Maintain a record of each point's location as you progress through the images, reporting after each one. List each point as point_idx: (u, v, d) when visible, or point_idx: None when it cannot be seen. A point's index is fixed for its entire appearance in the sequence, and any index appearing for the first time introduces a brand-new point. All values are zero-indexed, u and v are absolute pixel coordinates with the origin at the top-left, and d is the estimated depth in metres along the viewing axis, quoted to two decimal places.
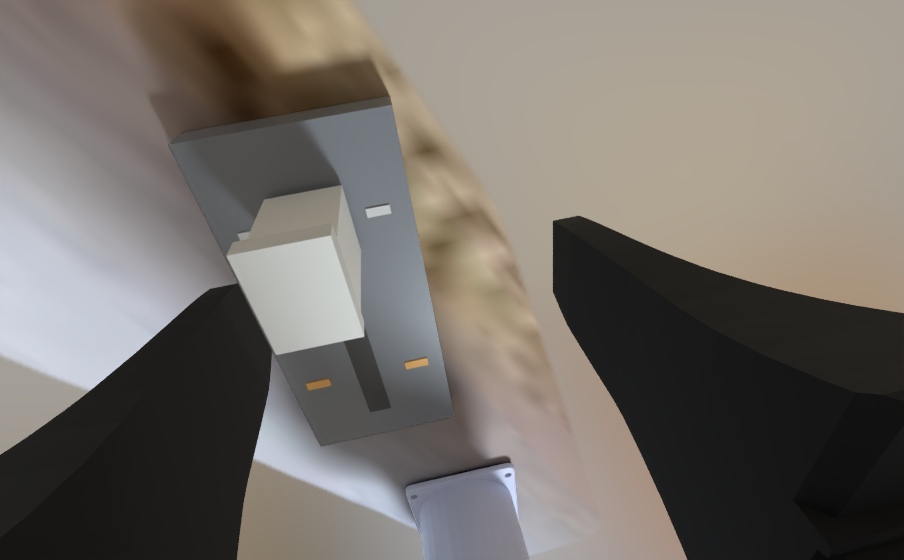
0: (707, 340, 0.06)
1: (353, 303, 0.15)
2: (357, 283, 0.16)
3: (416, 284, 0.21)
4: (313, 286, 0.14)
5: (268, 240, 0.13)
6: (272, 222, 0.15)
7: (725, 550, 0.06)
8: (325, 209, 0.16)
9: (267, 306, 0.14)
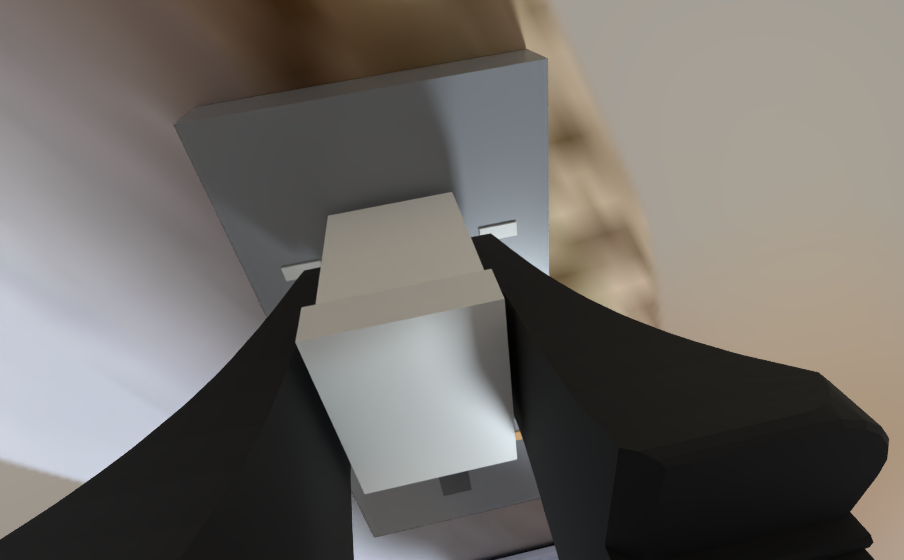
0: (549, 373, 0.05)
1: (512, 410, 0.08)
2: None
3: None
4: (451, 388, 0.07)
5: (374, 306, 0.07)
6: (356, 259, 0.09)
7: None
8: (443, 235, 0.09)
9: (362, 424, 0.07)
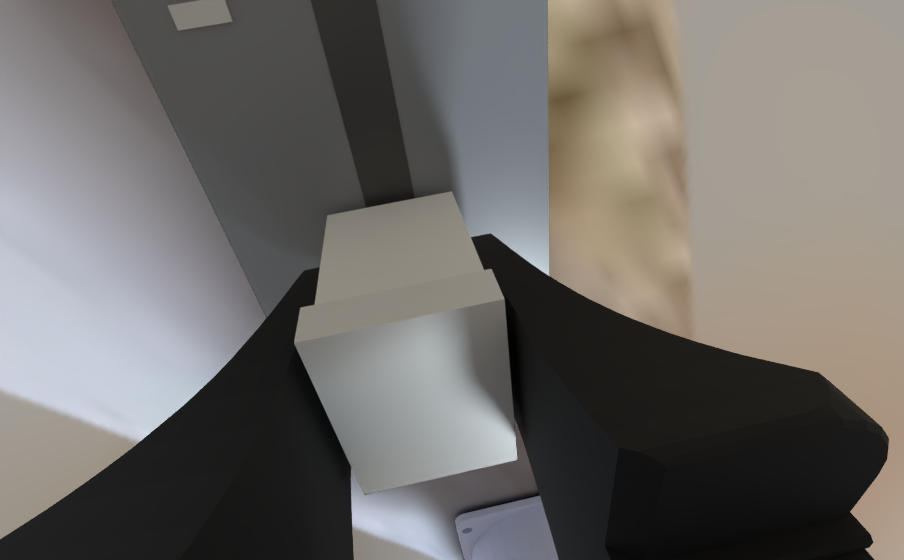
0: (549, 374, 0.05)
1: (512, 410, 0.08)
2: None
3: (527, 161, 0.11)
4: (450, 388, 0.07)
5: (373, 306, 0.07)
6: (355, 259, 0.09)
7: None
8: (443, 235, 0.09)
9: (361, 424, 0.07)
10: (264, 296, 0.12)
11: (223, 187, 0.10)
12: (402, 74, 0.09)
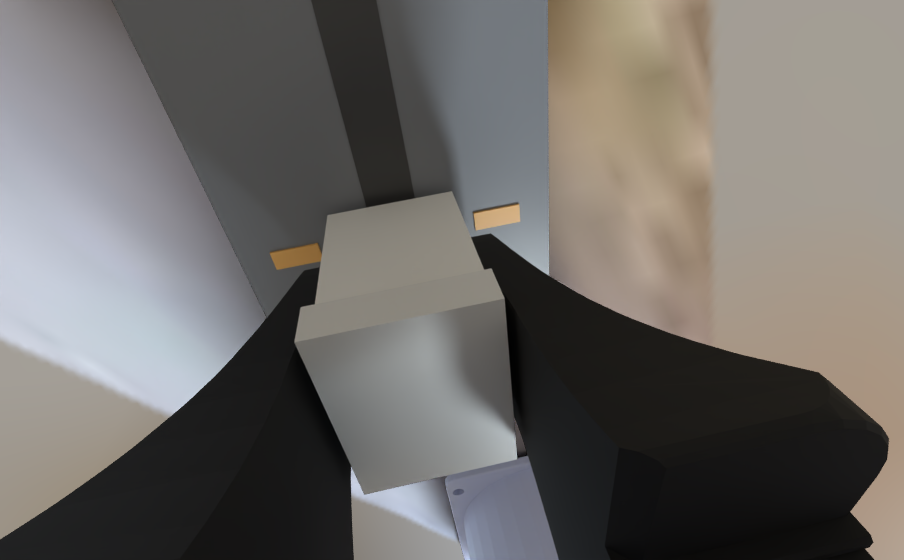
0: (549, 373, 0.05)
1: (512, 410, 0.08)
2: None
3: None
4: (450, 388, 0.07)
5: (373, 305, 0.07)
6: (355, 259, 0.09)
7: None
8: (443, 234, 0.09)
9: (361, 424, 0.07)
10: (202, 165, 0.10)
11: None
12: None
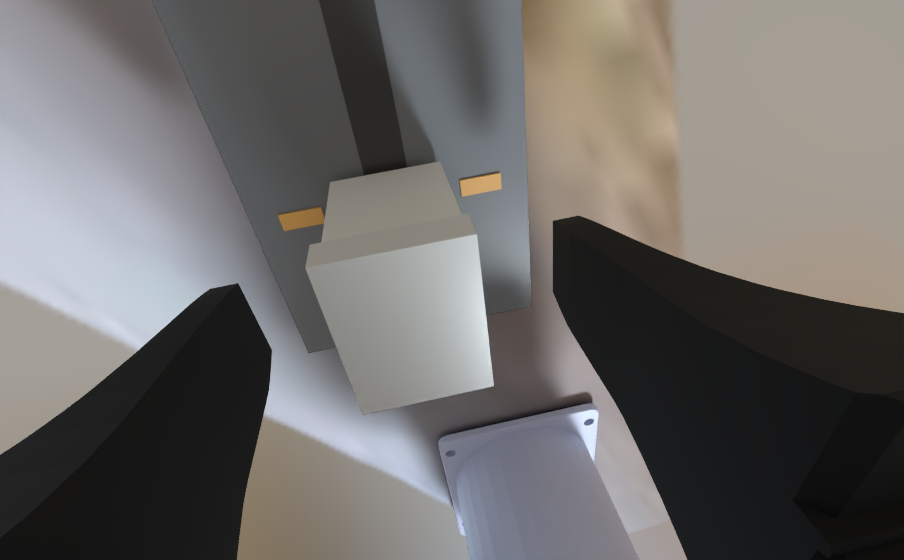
0: (707, 339, 0.06)
1: (487, 339, 0.09)
2: None
3: None
4: (434, 315, 0.09)
5: (370, 242, 0.08)
6: (354, 214, 0.10)
7: (725, 550, 0.06)
8: (431, 194, 0.11)
9: (360, 346, 0.09)
10: (219, 133, 0.11)
11: None
12: None
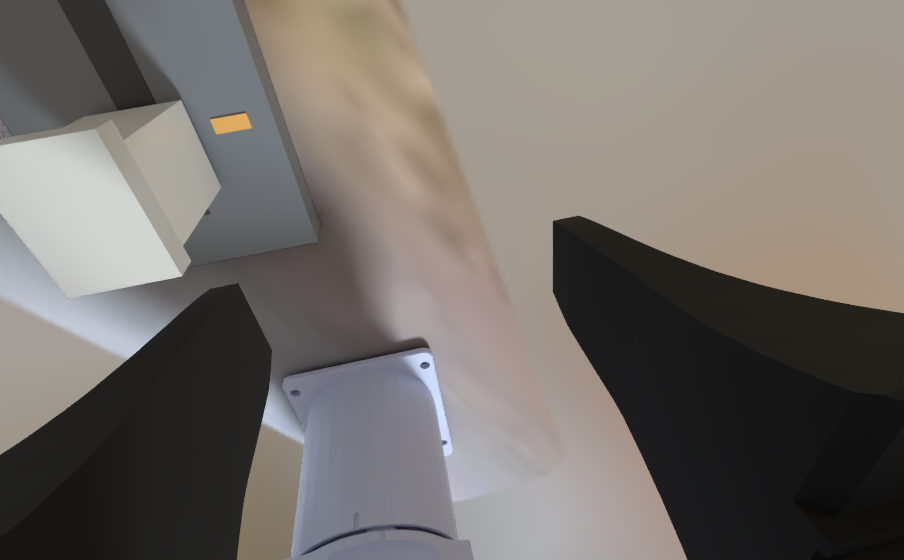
0: (707, 339, 0.06)
1: (156, 230, 0.11)
2: (186, 214, 0.13)
3: None
4: (92, 203, 0.11)
5: (19, 138, 0.10)
6: None
7: (725, 550, 0.06)
8: (139, 119, 0.13)
9: (35, 230, 0.11)
10: None
11: None
12: None
